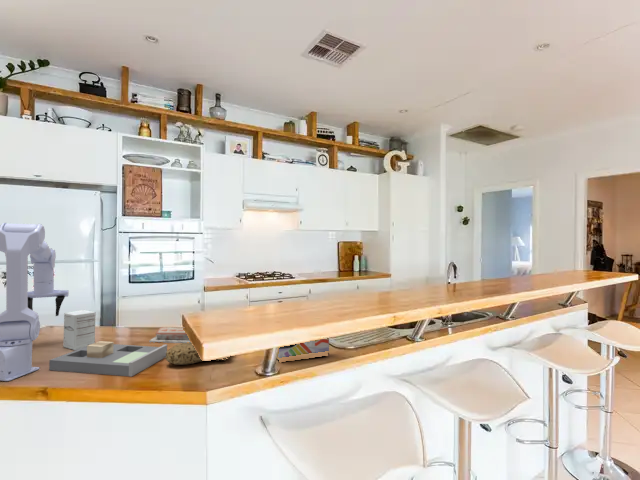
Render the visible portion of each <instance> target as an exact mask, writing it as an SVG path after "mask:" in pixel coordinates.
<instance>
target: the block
mask: <svg viewBox="0 0 640 480" xmlns="http://www.w3.org/2000/svg"><path fill="white" fill-rule="evenodd" d="M113 344H115V342H114V341H100V340H99V341H96V342H95V343H93V344H91V345H88V346H87V357H94V358H103V357H105V356H107V355H110V354H112V353H113Z"/></svg>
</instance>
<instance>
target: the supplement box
mask: <svg viewBox="0 0 640 480" xmlns="http://www.w3.org/2000/svg"><path fill="white" fill-rule="evenodd" d="M63 315H64V316H63V341H62V343H63V345H62V347H63V348H67V349H69V350H70V349H71V350H72V351H75V350H78V349H81V348H83V347H86V346H88V345H91V344H93V343H96V342H95V341H96V339H95V338H96V315H97V314H96V311H91V310H87V309H80V310H75V311H68V312H64V314H63Z"/></svg>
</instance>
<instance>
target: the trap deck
mask: <svg viewBox="0 0 640 480" xmlns="http://www.w3.org/2000/svg"><path fill="white" fill-rule="evenodd" d="M167 351H168V344H162V345H160V346H152V345H151V346H148V345H133V344H119V343H118V344H117V343H114V344H113V353H112V354H110V355H107V356H105V357H103V358H94V357H87V346H86V347H83V348H81V349H78V350H72V351H71V352H68V353H65V354H62V355H59V356H57V357H54V358H51V359H49V361H48V362H49V365H48V366H49V369H48V370H49V371H58V372H70V373H79V374H80V373H81V374H82V373H84V374H94V375H95V374H97V375H109V376H121V377H134V376H135V375H137V374H138V373H141V372H143V371H144V370H147V368H150V367H151V366H153V365H154V364H156V363H158V362H159V361H161V360H163V359H166V352H167Z"/></svg>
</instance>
